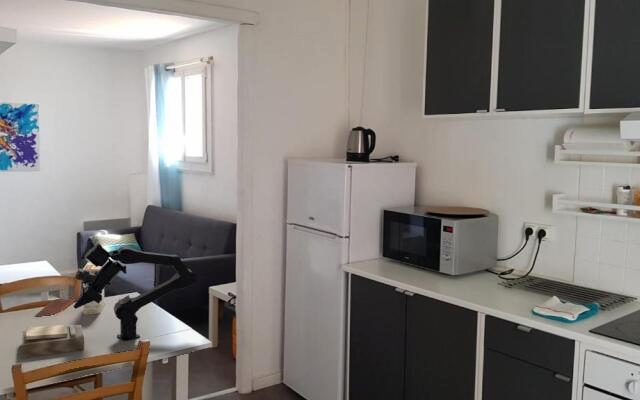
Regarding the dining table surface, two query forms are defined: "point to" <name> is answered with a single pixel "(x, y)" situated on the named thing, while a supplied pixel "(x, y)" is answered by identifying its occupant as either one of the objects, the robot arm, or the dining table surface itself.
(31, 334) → the oak plank
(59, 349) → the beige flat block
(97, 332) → the dining table surface
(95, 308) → the coffeecake box
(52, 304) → the wooden tablet
